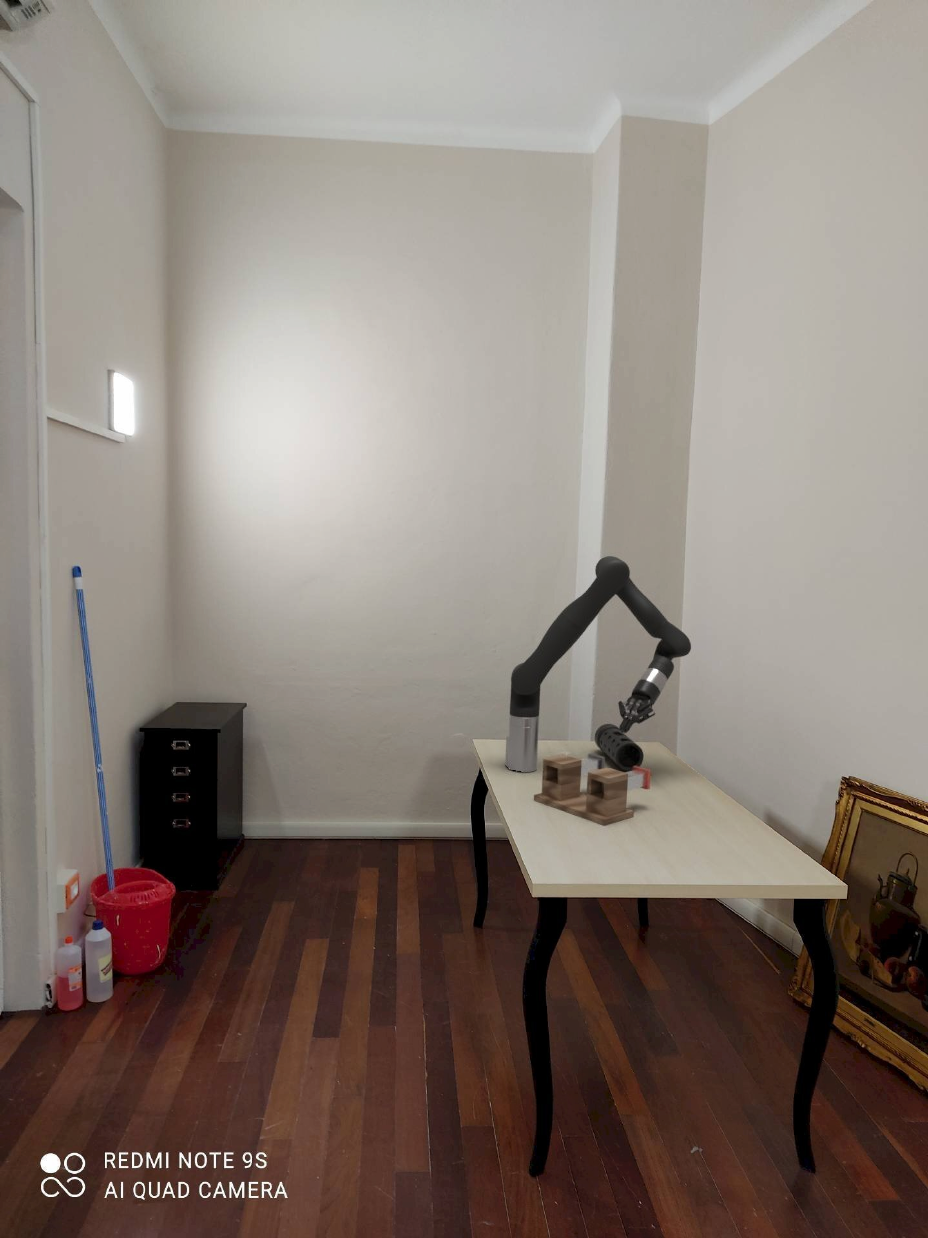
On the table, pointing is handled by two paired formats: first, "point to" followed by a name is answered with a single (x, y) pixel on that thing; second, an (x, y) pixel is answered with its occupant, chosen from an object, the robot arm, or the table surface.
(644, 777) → the red plug
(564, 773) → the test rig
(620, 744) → the muzzle brake
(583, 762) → the charcoal plug
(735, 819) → the table surface
